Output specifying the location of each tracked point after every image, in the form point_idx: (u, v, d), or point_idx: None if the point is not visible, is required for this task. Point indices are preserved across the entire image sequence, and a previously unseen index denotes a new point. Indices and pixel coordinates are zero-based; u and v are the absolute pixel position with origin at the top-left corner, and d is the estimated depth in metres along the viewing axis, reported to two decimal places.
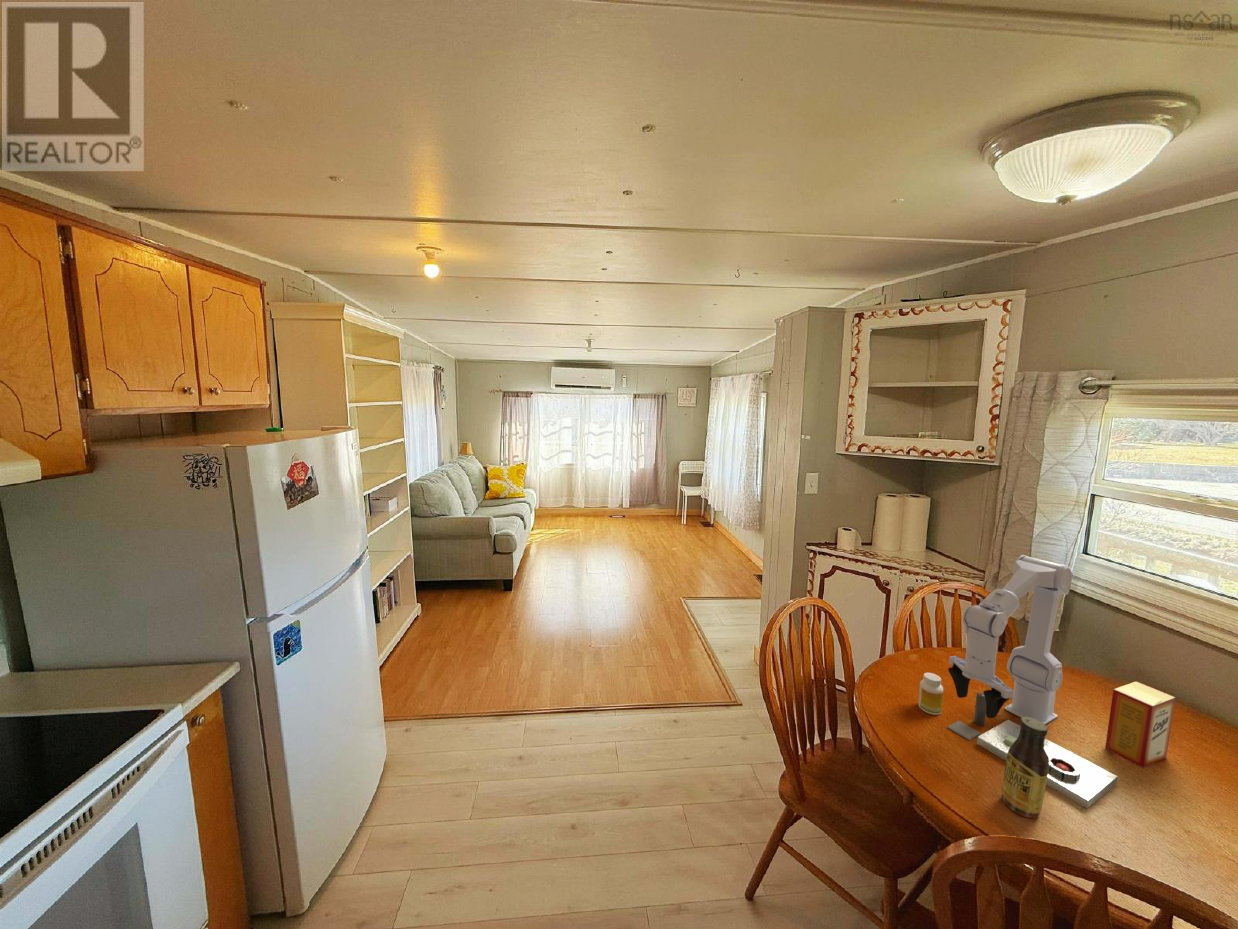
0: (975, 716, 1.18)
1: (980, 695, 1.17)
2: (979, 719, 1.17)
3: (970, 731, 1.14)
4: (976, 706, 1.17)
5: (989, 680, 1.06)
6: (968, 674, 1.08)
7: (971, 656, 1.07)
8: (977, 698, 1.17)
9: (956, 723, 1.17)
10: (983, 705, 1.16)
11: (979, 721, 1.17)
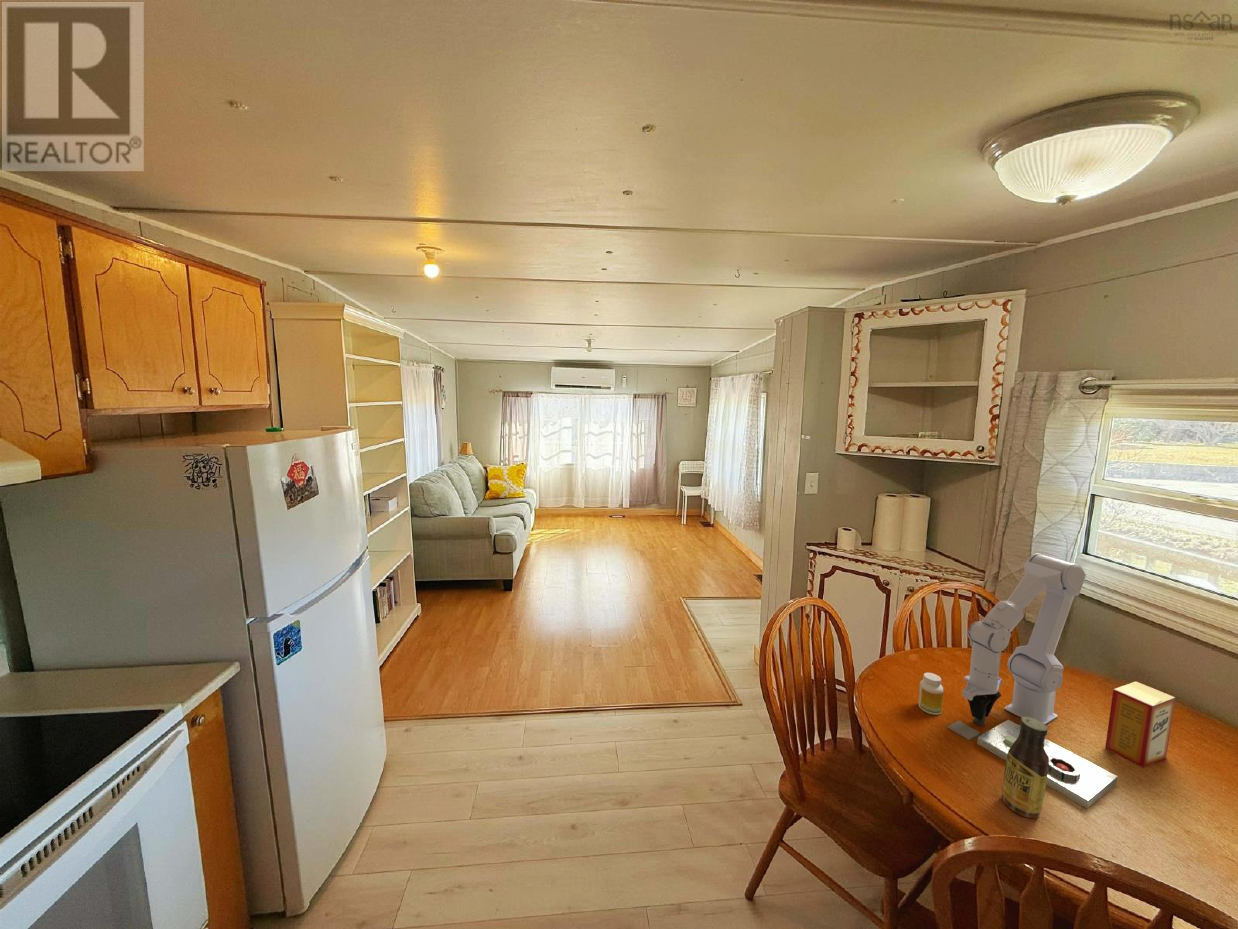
0: None
1: None
2: None
3: (970, 731, 1.14)
4: None
5: (974, 686, 1.16)
6: (968, 677, 1.19)
7: None
8: None
9: (956, 723, 1.17)
10: None
11: (979, 721, 1.17)
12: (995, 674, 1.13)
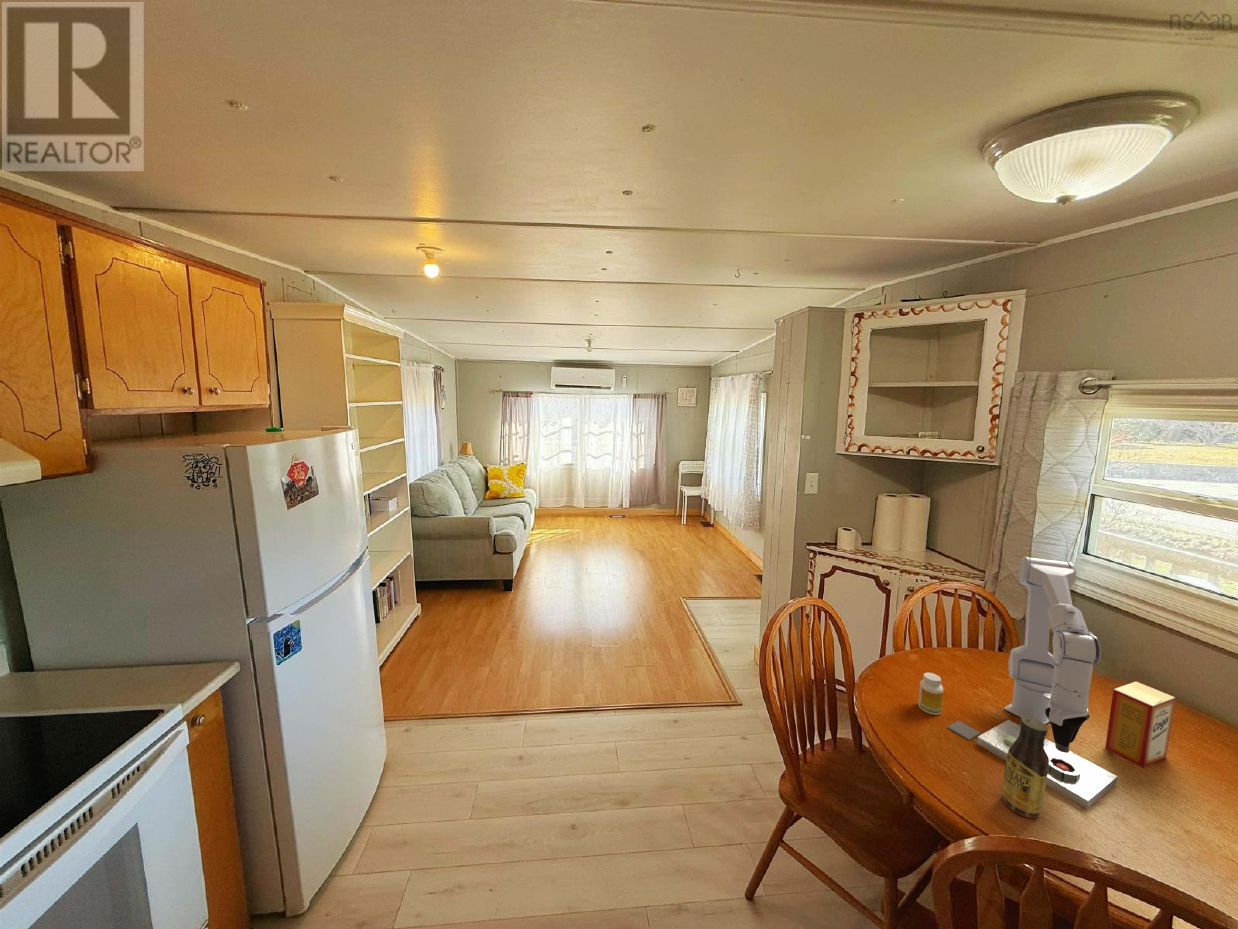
0: None
1: None
2: None
3: (970, 731, 1.14)
4: None
5: (1059, 707, 0.97)
6: (1047, 695, 1.01)
7: None
8: None
9: (956, 723, 1.17)
10: None
11: (1063, 748, 0.98)
12: (1087, 692, 0.95)
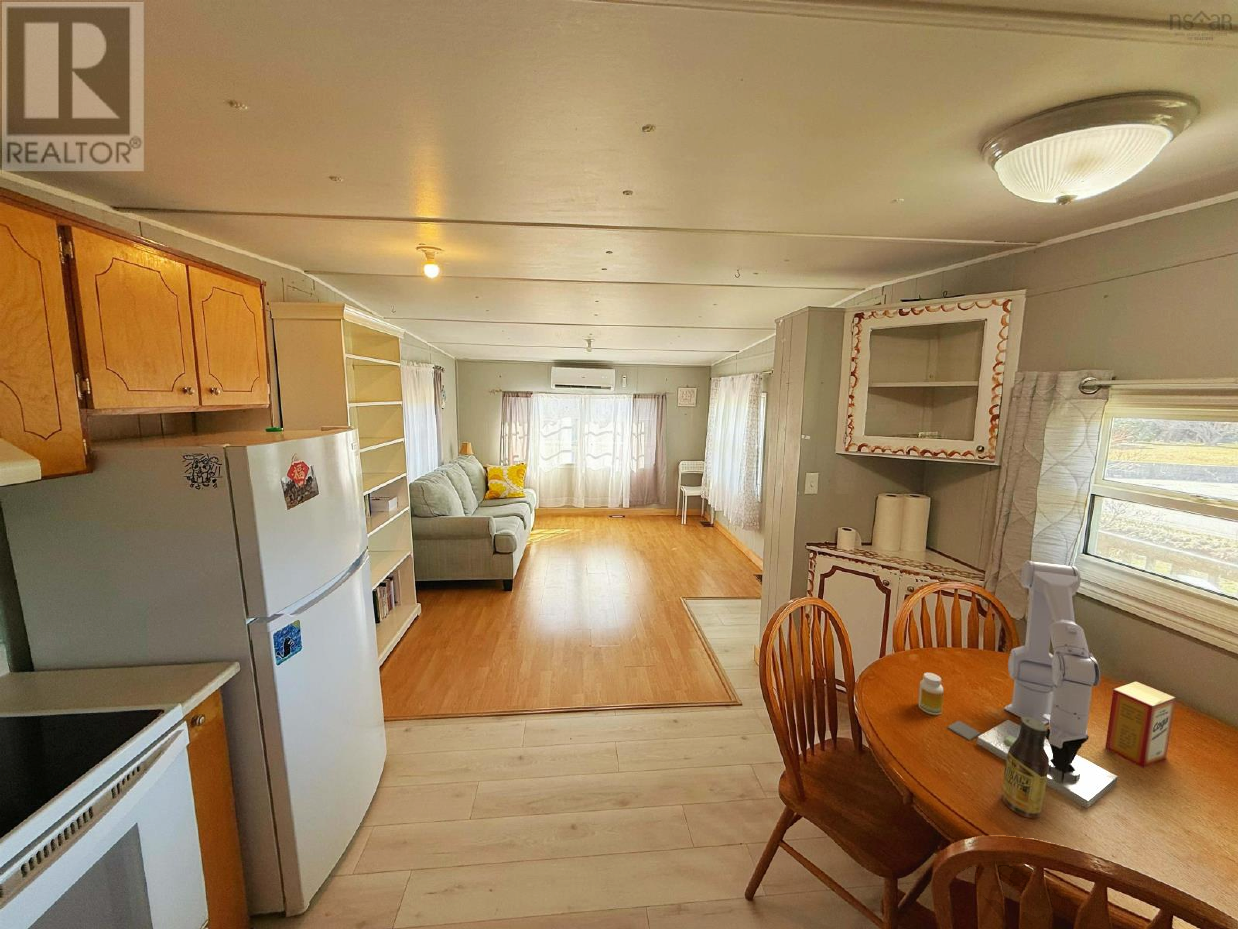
0: None
1: None
2: None
3: (970, 731, 1.14)
4: None
5: (1059, 729, 0.97)
6: (1047, 716, 1.01)
7: None
8: None
9: (956, 723, 1.17)
10: None
11: (1062, 769, 0.99)
12: (1086, 715, 0.95)
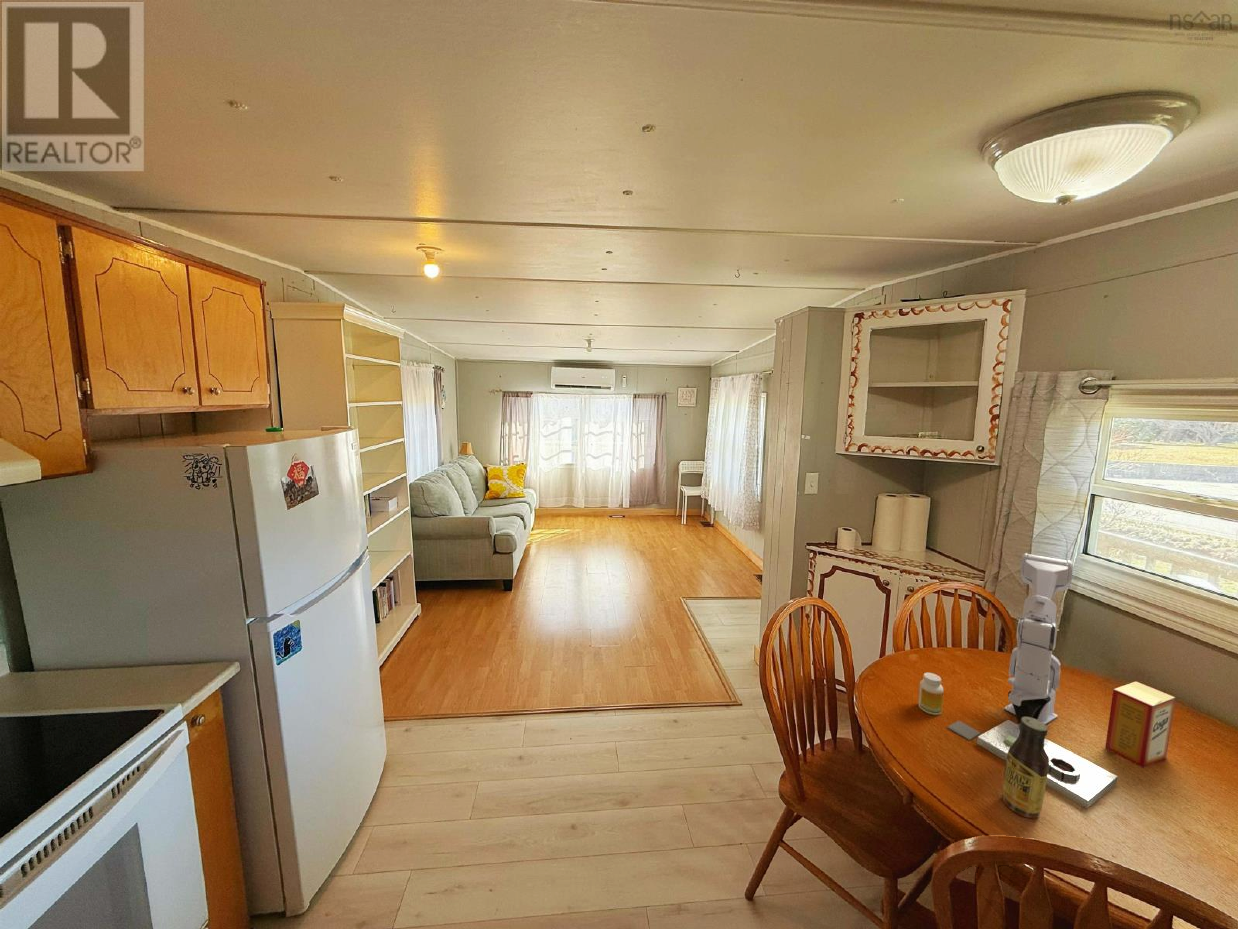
0: None
1: None
2: None
3: (970, 731, 1.14)
4: None
5: (1020, 690, 1.03)
6: (1012, 679, 1.07)
7: None
8: None
9: (956, 723, 1.17)
10: None
11: None
12: (1045, 676, 1.01)
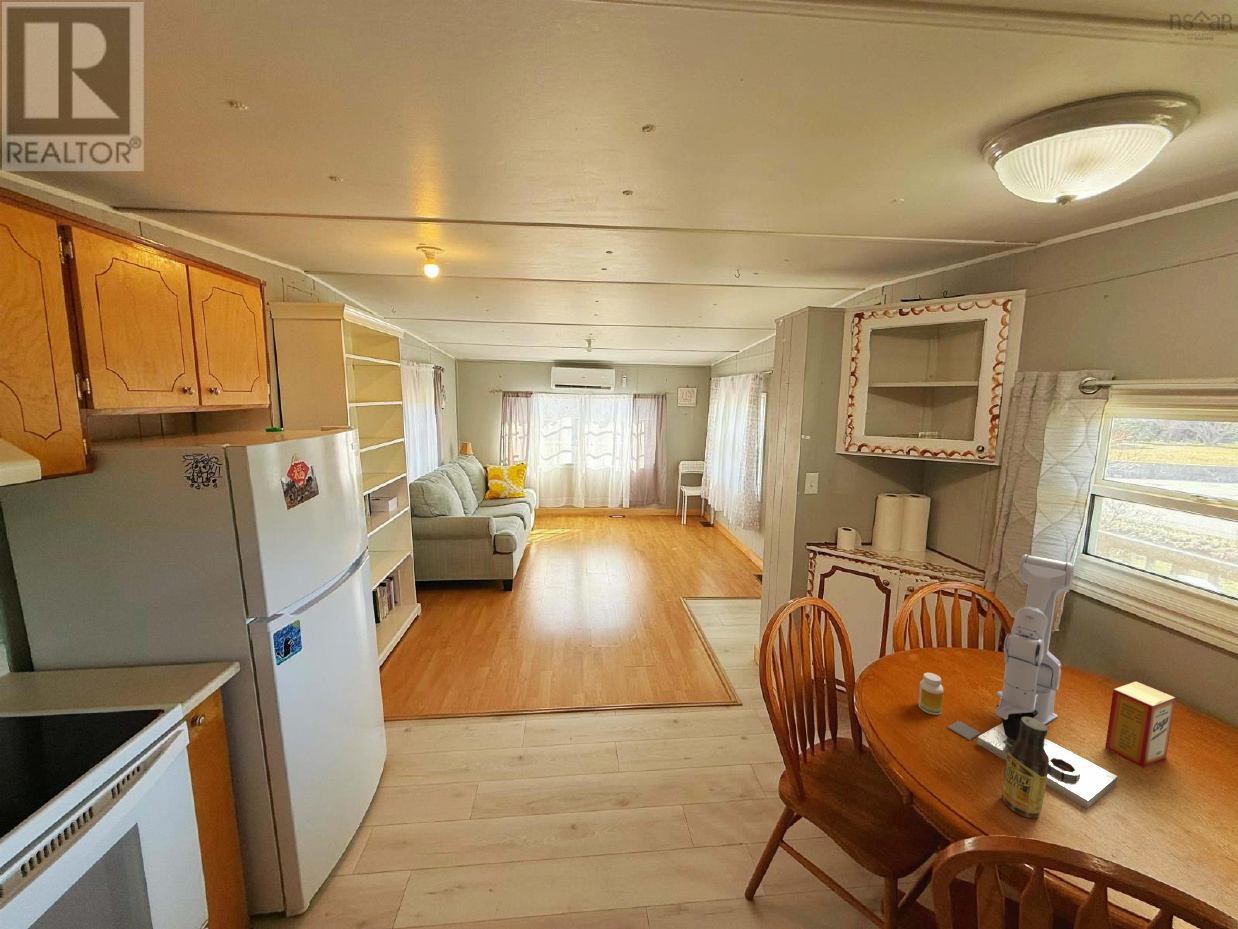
0: None
1: None
2: None
3: (970, 731, 1.14)
4: None
5: (1008, 704, 1.06)
6: (1000, 693, 1.09)
7: None
8: None
9: (956, 723, 1.17)
10: None
11: (1013, 741, 1.07)
12: (1032, 690, 1.03)
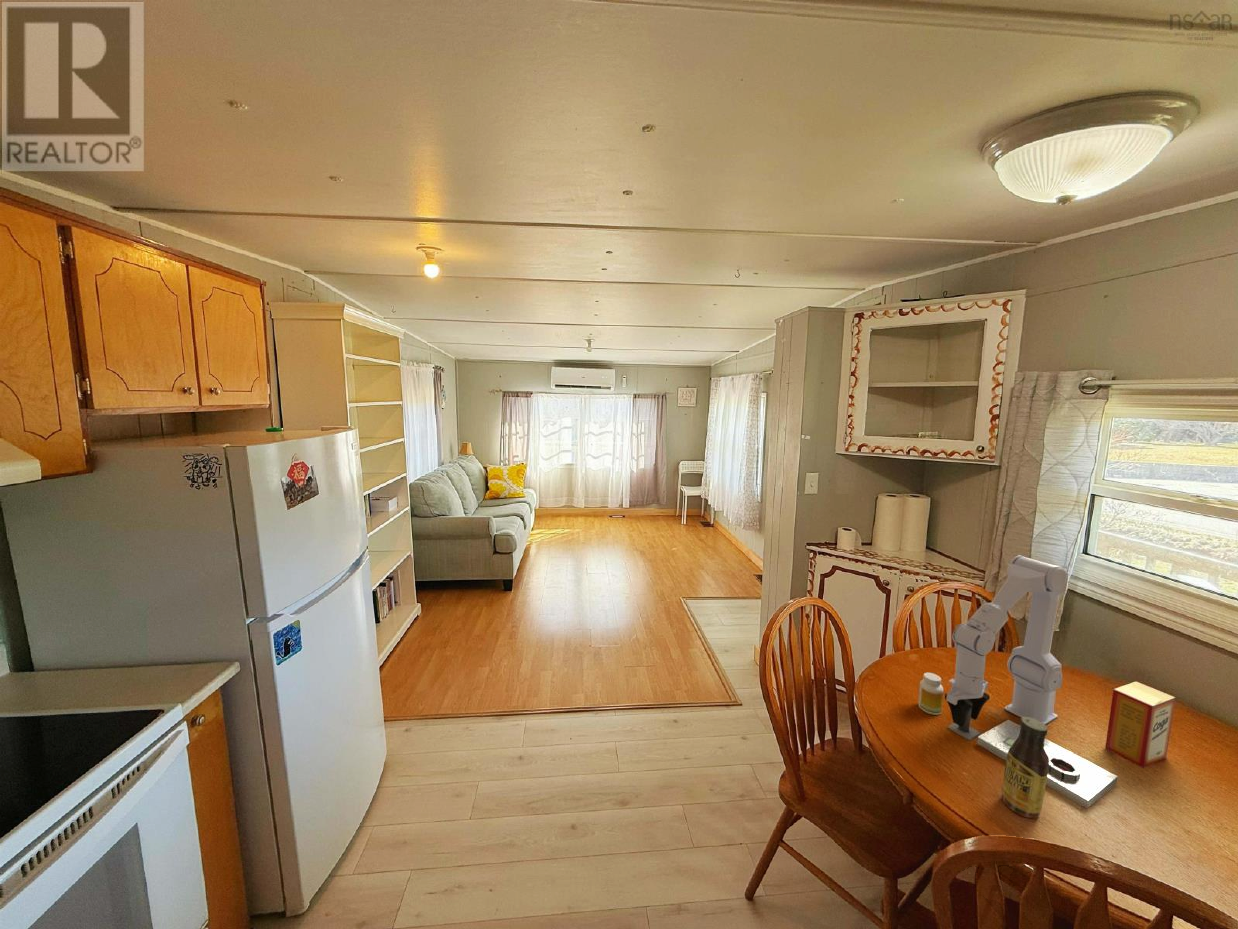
0: None
1: None
2: (964, 726, 1.14)
3: (970, 731, 1.14)
4: None
5: (958, 690, 1.13)
6: (953, 680, 1.16)
7: None
8: None
9: None
10: None
11: (963, 728, 1.14)
12: (980, 678, 1.10)
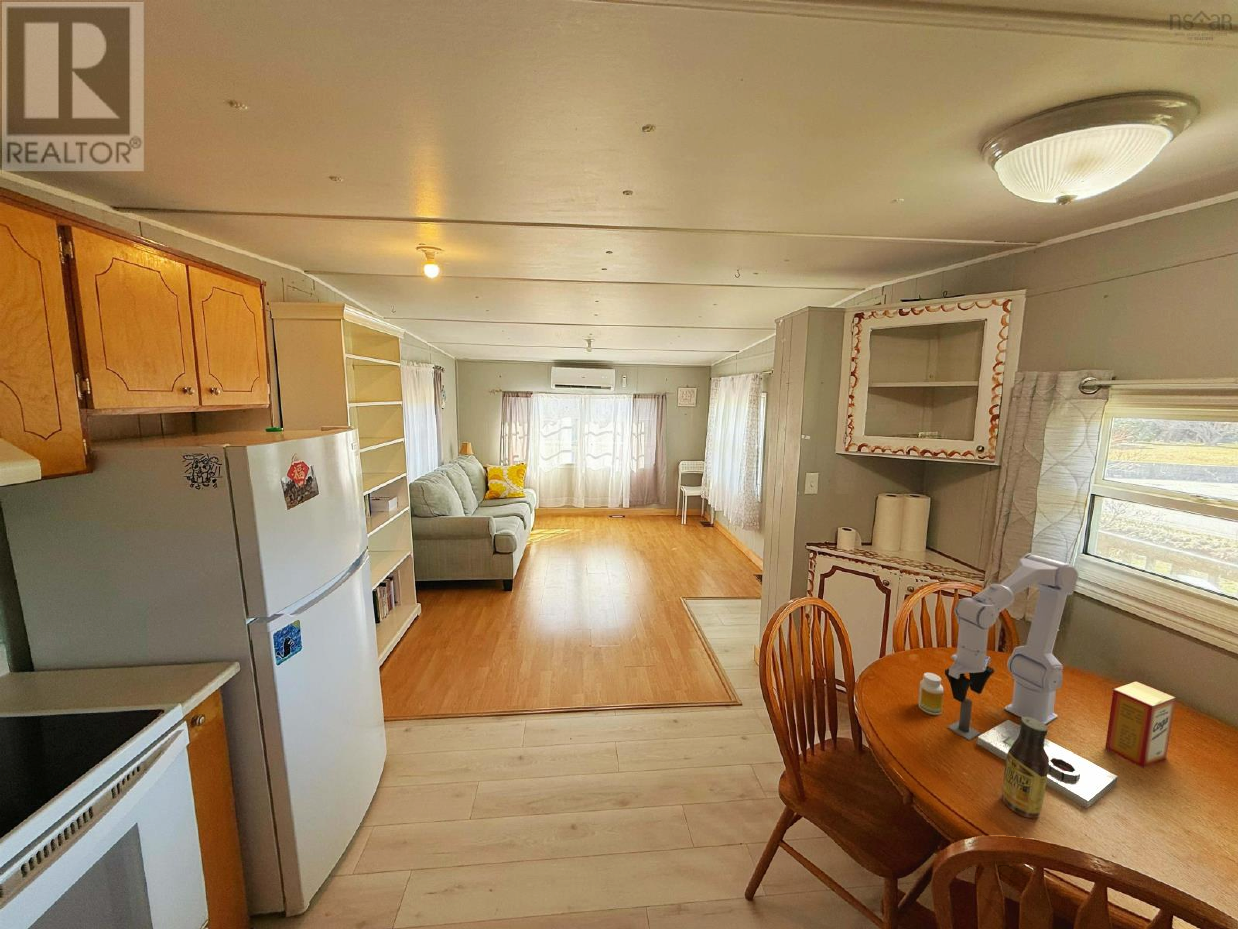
0: (959, 722, 1.15)
1: (965, 701, 1.14)
2: (964, 726, 1.14)
3: (970, 731, 1.14)
4: (960, 712, 1.15)
5: (961, 665, 1.12)
6: (955, 656, 1.15)
7: None
8: (962, 704, 1.14)
9: (956, 723, 1.17)
10: (967, 711, 1.13)
11: (963, 727, 1.14)
12: (982, 651, 1.09)
